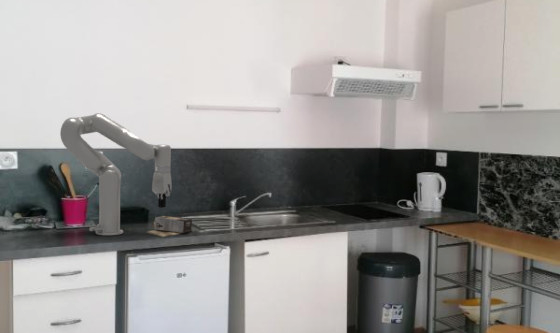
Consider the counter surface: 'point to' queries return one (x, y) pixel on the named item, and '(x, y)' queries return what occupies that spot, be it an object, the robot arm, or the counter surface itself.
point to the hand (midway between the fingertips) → (161, 207)
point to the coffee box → (173, 224)
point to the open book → (163, 233)
